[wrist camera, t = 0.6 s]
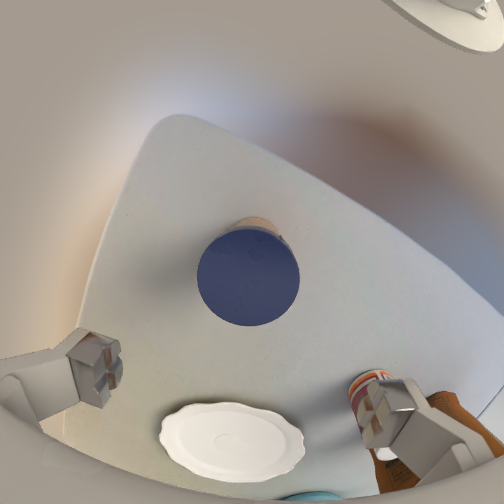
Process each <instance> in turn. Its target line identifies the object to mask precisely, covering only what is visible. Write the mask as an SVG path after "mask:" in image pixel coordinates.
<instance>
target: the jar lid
mask: <svg viewBox="0 0 504 504" xmlns="http://www.w3.org/2000/svg"><path fill="white" fill-rule="evenodd" d="M197 282H198V288H199V291H200V294H201V296H202V298H203V300H204V302H205V303H206V305H207V306H208V307H209V308H210V310H211V311H212V312H213V313H215V314H216V315H217V316H219V317H220V318H222V319H223V320H225V321H227V322H230V323H233V324H236V325H241V326H257V325H262V324H266V323H269V322H271V321H273V320H275V319H277V318H278V317H280V316H281V315H282V314H284V313H285V312H286V311H287V310H288V308H289V307H290V306H291V305H292V303H293V301H294V300H295V297H296V295H297V292H298V289H299V282H300V275H299V268H298V265H297V262H296V259H295V257H294V254H293V252H292V250H291V248H290V247H289V245H288V244H287V243H286V242H285V240H284V239H283V238H282V236H281V235H280V236H279V235H278V234H276V233H275V232H273V231H271V230H269V229H266V228H264V227H260V226H253V225H243V226H238V227H234V228H231V229H229V230H227V231H225V232H223V233H222V234H220V235H219V236H218V237H217V238H216V239H215V240H214V241H213V242H212V243H211V244H210V245H209V246H208V248H207V249H206V250H205V252H204V253H203V255H202V257H201V259H200V262H199V265H198V271H197Z"/></svg>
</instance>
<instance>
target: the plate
mask: <svg viewBox="0 0 504 504" xmlns="http://www.w3.org/2000/svg"><path fill="white" fill-rule="evenodd" d="M303 438H304V436H303V434H302V432H301V431H300V429H298V428H297V427H295V426H293V425H291V424H289V423H288V422H287V421H286V420H285V419H284V418H283V417H282V416H281V415H279V414H277V413H275V412H272V411H270V410H263V409H256V408H252V407H250V406H247V405H244V404H242V403H235V402H220V403H214V404H202V403H194V404H190V405H186V406H184V407H183V408H182V409H180V410H179V411H178V412H176V413H173V414H170V415H167V416H166V417H165V418H164V420H163V421H162V431H161V432H160V434H159V440H160V443H161V444H162V445H163V446H164V448H165V449H166V450H167V452H168V454H169V457H170V458H172V459H173V460H174V461H175V462H176V463H178V464H180V465H182V466H184V467H186V468H187V469H189V470H190V471H191V472H193V473H195V474H197V475H200V476H202V477H207V478H212V479H216V480H220V481H223V482H230V483H241V482H261V481H266V480H269V479H271V478H273V477H275V476H279V475H282V474H285V473H287V472H289V471H290V470H292V469H293V468H294V466H295V465H296V463H297V462H298V461H299V460H301V459H302V458H303V457H304V454H305V452H306V450H305V448H304V445H303Z"/></svg>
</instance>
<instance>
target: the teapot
mask: <svg viewBox="0 0 504 504" xmlns="http://www.w3.org/2000/svg"><path fill="white" fill-rule="evenodd" d="M337 499H341V498H340V497H338V496H336V495H334V494H332V493H328V492H310V493H303V494H298V495H295V496H291V497H289V498H286V499H284V500H283V501H320V500H337Z"/></svg>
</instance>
